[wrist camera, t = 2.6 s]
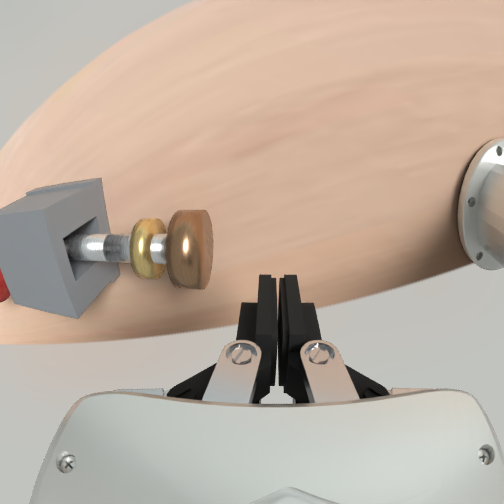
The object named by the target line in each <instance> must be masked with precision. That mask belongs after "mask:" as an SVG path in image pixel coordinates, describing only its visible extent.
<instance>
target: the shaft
mask: <svg viewBox="0 0 504 504" xmlns="http://www.w3.org/2000/svg"><path fill="white" fill-rule="evenodd" d="M63 241H64V245H65V248H66V252H67V255H68V259H69V260H83V261H102V262H123V263H131V265H132V268H133V270H134V272H135V274H136V275H137V276H138V277H140V278H146V279H158V278H159V277H160V276H161V275H162V274H163V272H164V269H165V266H166V264H167V269H168V274H169V277H170V280H171V282H172V284H173V285H174V286H175V287H176V288H184V289H201V290H203V289H205V288H206V286H207V284H208V282H209V279H210V275H211V269H212V261H213V233H212V225H211V220H210V217H209V214H208V212H207V211H206V210H179V211H177V212H176V213H175V214H174V215H173V217H172V219H171V222H170V224H169V228H168V233H166V229H165V226H164V224H163V223H162V221H161V220H160V219H141V220H139V221H138V222H137V223H136V224H135V226H134V228H133V231H132V234H69V235H67V236H66V237H64V238H63Z"/></svg>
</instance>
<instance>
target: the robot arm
mask: <svg viewBox="0 0 504 504" xmlns="http://www.w3.org/2000/svg"><path fill="white" fill-rule="evenodd" d="M458 230H459V235H460V240H461V243H462V246H463V249H464V250H465V252H466V254H467V255H468V257H469V258H470V259H471V260H472V261H473V262H474V263H475V264H477V265H478V266H479V267H481V268H483V269H486V270H497V269H500V268H503V267H504V138H498V139H494V140H492V141H490V142H488V143H487V144H485V145H484V146H483V147H482V148H481V149H480V150H479V151H478V152H477V154H476V156H475V157H474V159H473V160H472V162H471V164H470V166H469V168H468V170H467V172H466V175H465V178H464V181H463V184H462V187H461V192H460V197H459V204H458ZM277 343H278V370H279V386H284V393H287V394H288V395H289V396H291V397H292V398H293V404H261V399H262V398H263V397H265V396H266V395H267V394H268V393H270V386H274V385H275V375H276V360H277ZM29 504H504V455H503V452H502V449H501V446H500V443H499V441H498V438H497V436H496V433H495V431H494V429H493V426H492V424H491V422H490V420H489V418H488V416H487V414H486V412H485V411H484V409H483V407H482V406H481V404H480V403H479V402H478V400H477V399H476V398H475V397H474V396H473V395H471V394H469V393H467V392H464V391H460V390H455V389H409V388H392V389H391V390H387V389H386V388H385V387H383V386H382V385H380V384H378V383H376V382H375V381H373V380H371V379H369V378H368V377H366V376H364V375H362V374H360V373H359V372H357V371H355V370H353V369H352V368H350V367H348V366H346V365H345V364H344V362H343V360H342V358H341V356H340V354H339V351H338V350H337V348H336V347H335V346H334V345H333V344H331V343H329V342H327V341H323V340H322V339H321V334H320V329H319V324H318V320H317V315H316V310H315V306H314V303H301V299H300V293H299V287H298V281H297V275H284V278H280V281H279V305H278V319H277V291H276V278H271V275H259V288H258V303H244V302H242V303H241V310H240V317H239V324H238V331H237V338H236V341H233V342H231V343H229V344H227V345H226V346H225V347H224V349H223V350H222V352H221V355H220V357H219V360H218V362H217V363H216V364H214V365H213V366H210V367H209V368H207V369H205V370H203V371H202V372H200V373H198V374H196V375H194V376H193V377H191V378H189V379H187V380H185V381H184V382H182V383H180V384H178V385H176V386H174V387H173V388H172V389H170V391H164V390H163V389H119V390H114V391H107V392H100V393H94V394H90V395H87V396H84V397H82V398H81V399H79V400H78V401H77V402H76V403H75V404H74V405H73V406H72V407H71V409H70V410H69V411H68V413H67V414H66V416H65V417H64V419H63V421H62V422H61V424H60V426H59V428H58V430H57V432H56V434H55V436H54V438H53V440H52V442H51V444H50V446H49V449H48V451H47V454H46V456H45V459H44V461H43V464H42V466H41V469H40V472H39V474H38V477H37V480H36V483H35V486H34V489H33V493H32V496H31V499H30V503H29Z"/></svg>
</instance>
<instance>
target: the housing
mask: <svg viewBox="0 0 504 504" xmlns="http://www.w3.org/2000/svg"><path fill="white" fill-rule="evenodd" d="M26 195H27V196H25V197H23V198H21V199H19V200H17V201H15V202H13V203H11V204H9V205H7V206H5V207H3V208H1V209H0V269H1V272H2V274H3V277H4V280H5V282H6V285H7V287H8V289H9V292H10V294H11V296H12V299H13V301H14V303H15V304H18V305H22V306H26V307H29V308H33V309H37V310H41V311H45V312H49V313H54V314H58V315H62V316H67V317H72V318H77V319H78V318H79V317H80V316H81V315H82V314H83V312H84V311H85V310H86V309H87V308H88V306H89V305H90V304H91V303H92V302H93V301H94V299H95V298H96V297H97V296H98V295H99V294H100V292H101V291H102V290H103V289H104V288H105V287H106V286H107V285H108V283H109V282H114V280H115V279H116V278H117V277H118V276H119V275H120V271H119V267H118V263H117V262H102V261H83V260H69V259H68V255H67V252H66V248H65V245H64V241H63V238H64V237H66V236H67V235H69V234H111V233H110V228H109V223H108V217H107V212H106V206H105V200H104V194H103V188H102V181H101V178H96V179H89V180H82V181H75V182H69V183H63V184H57V185H52V186H46V187H41V188H36V189H34V190H32V191H29V192H27V193H26Z"/></svg>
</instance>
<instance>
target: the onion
mask: <svg viewBox="0 0 504 504" xmlns="http://www.w3.org/2000/svg"><path fill="white" fill-rule="evenodd" d="M9 296H10V292H9V289H8V287H7V285H6V282H5V280H4V277H3V274H2V272H1V269H0V302H3V301H5V300H6V299H7V298H8V297H9Z"/></svg>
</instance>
